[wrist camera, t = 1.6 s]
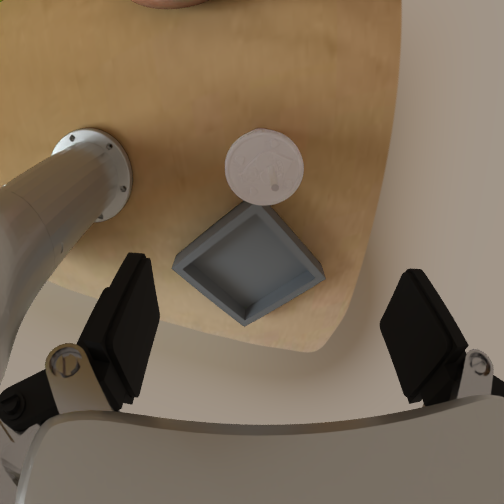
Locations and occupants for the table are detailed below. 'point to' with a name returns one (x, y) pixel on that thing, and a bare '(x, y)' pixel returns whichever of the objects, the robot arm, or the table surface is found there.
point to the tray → (249, 263)
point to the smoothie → (264, 167)
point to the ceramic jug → (168, 3)
